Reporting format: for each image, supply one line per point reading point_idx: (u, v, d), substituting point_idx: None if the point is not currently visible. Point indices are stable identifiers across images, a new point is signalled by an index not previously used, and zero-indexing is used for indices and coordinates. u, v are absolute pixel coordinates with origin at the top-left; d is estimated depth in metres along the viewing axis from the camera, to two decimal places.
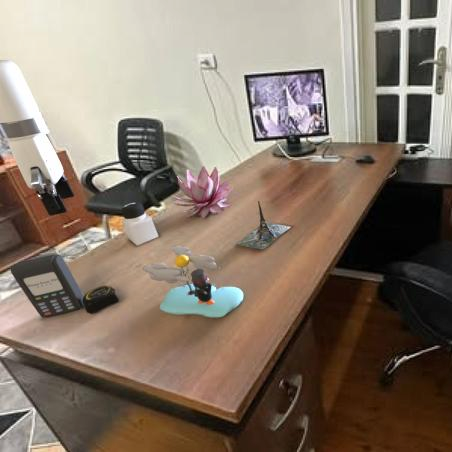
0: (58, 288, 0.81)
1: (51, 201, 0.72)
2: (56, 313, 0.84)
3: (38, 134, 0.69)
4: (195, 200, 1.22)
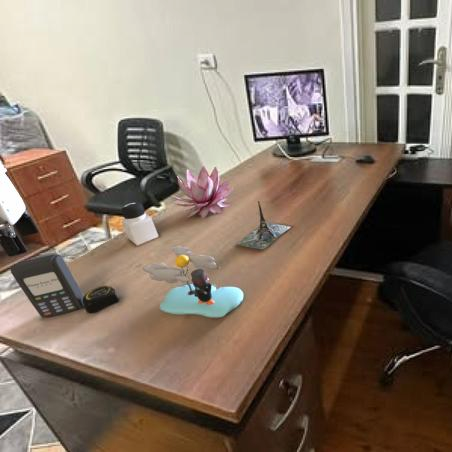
0: (58, 288, 0.81)
1: (9, 242, 0.70)
2: (56, 313, 0.84)
3: None
4: (195, 200, 1.22)
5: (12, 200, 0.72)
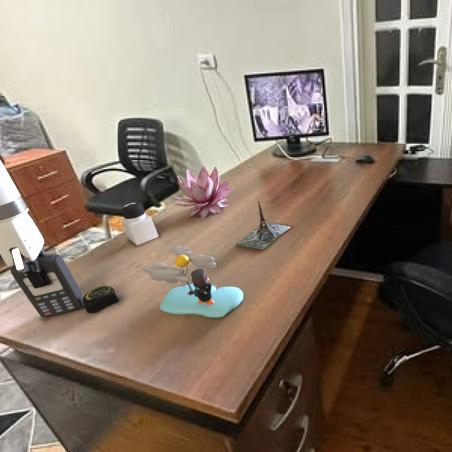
0: (58, 288, 0.81)
1: (36, 276, 0.77)
2: (56, 313, 0.84)
3: (17, 216, 0.71)
4: (195, 200, 1.22)
5: (33, 237, 0.76)
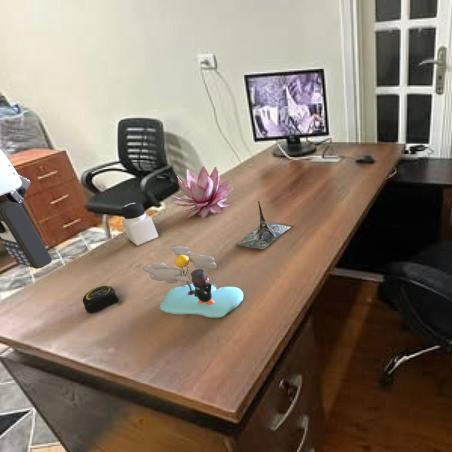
0: (13, 239, 0.73)
1: None
2: (21, 263, 0.77)
3: None
4: (195, 200, 1.22)
5: None
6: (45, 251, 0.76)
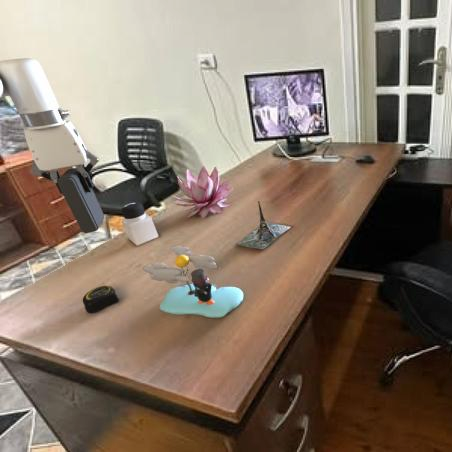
0: None
1: None
2: None
3: (28, 128, 0.77)
4: (195, 200, 1.22)
5: (52, 152, 0.80)
6: (90, 221, 0.88)
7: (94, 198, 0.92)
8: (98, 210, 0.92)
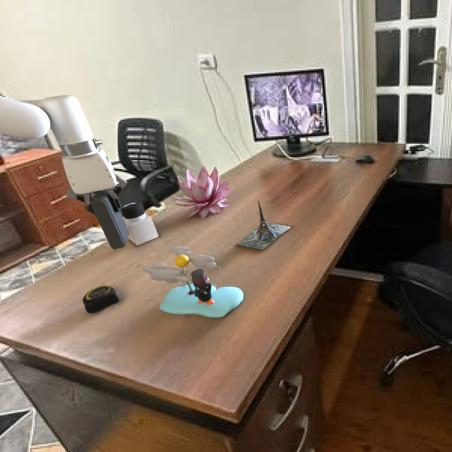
0: None
1: None
2: None
3: (67, 157, 0.85)
4: (195, 200, 1.22)
5: (86, 178, 0.89)
6: (119, 238, 0.96)
7: (121, 217, 1.00)
8: (125, 227, 1.01)
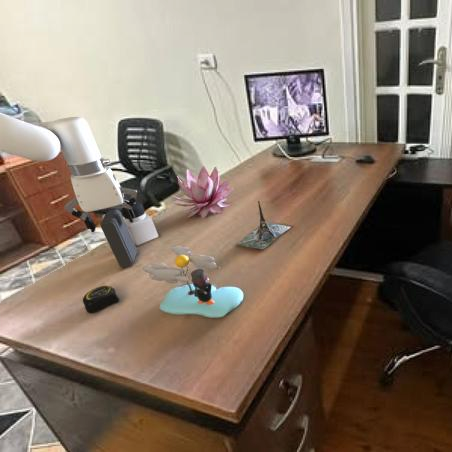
0: None
1: None
2: None
3: (76, 176, 0.88)
4: (195, 200, 1.22)
5: (94, 196, 0.91)
6: (127, 257, 0.99)
7: (129, 235, 1.03)
8: (132, 245, 1.04)
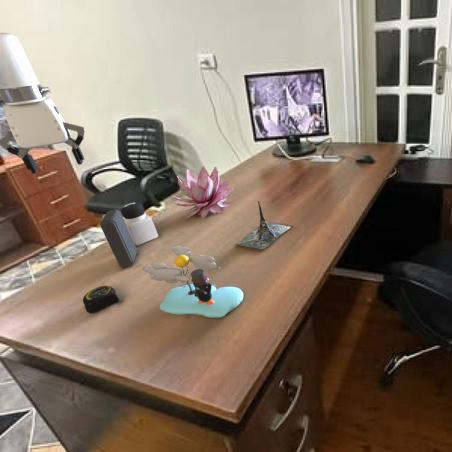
0: None
1: None
2: None
3: (7, 104, 0.77)
4: (195, 200, 1.22)
5: (32, 129, 0.80)
6: (127, 257, 0.99)
7: (129, 235, 1.03)
8: (132, 245, 1.04)
